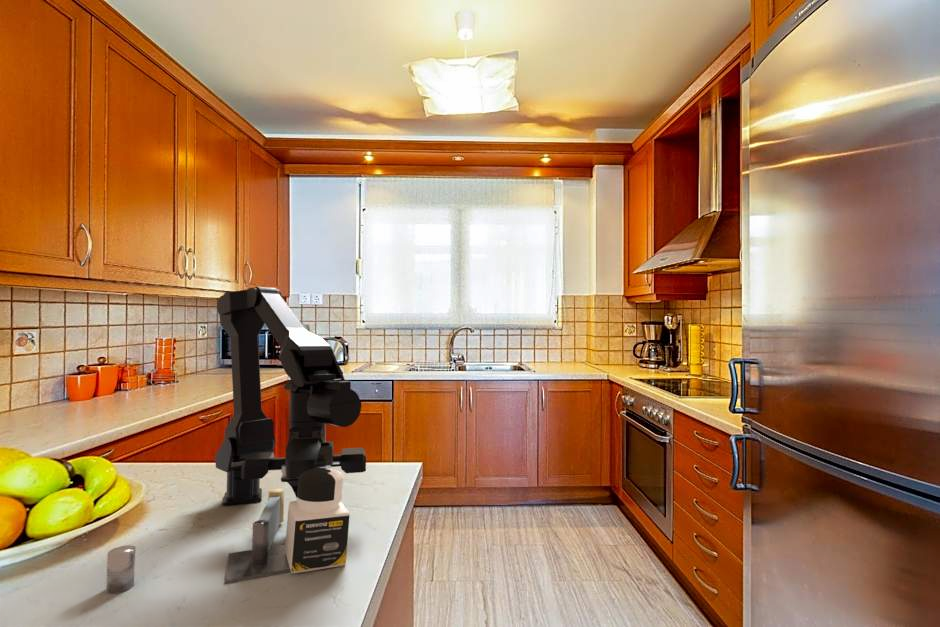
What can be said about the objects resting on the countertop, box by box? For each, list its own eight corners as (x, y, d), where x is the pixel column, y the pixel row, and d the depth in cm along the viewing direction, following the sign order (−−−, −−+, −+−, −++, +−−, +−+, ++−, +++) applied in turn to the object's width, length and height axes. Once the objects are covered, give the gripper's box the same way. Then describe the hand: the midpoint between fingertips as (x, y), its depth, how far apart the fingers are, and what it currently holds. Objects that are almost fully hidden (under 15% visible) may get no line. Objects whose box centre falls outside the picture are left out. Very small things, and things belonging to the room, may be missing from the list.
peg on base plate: (228, 556, 68) (229, 516, 68) (289, 546, 71) (290, 508, 71) (224, 583, 60) (226, 539, 61) (292, 571, 63) (293, 529, 64)
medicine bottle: (290, 574, 62) (298, 480, 62) (284, 552, 68) (291, 466, 69) (346, 566, 65) (353, 476, 66) (335, 545, 71) (341, 463, 72)
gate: (271, 552, 68) (272, 516, 68) (253, 554, 67) (254, 518, 67) (284, 518, 80) (285, 488, 80) (269, 519, 80) (269, 489, 80)
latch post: (109, 584, 60) (111, 547, 60) (136, 579, 61) (137, 543, 61) (103, 595, 57) (104, 557, 58) (131, 590, 59) (132, 553, 59)
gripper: (233, 431, 68) (230, 543, 68) (367, 426, 73) (365, 531, 72) (250, 417, 79) (247, 513, 78) (365, 414, 83) (364, 505, 83)
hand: (305, 516), depth 78 cm, fingers closed
